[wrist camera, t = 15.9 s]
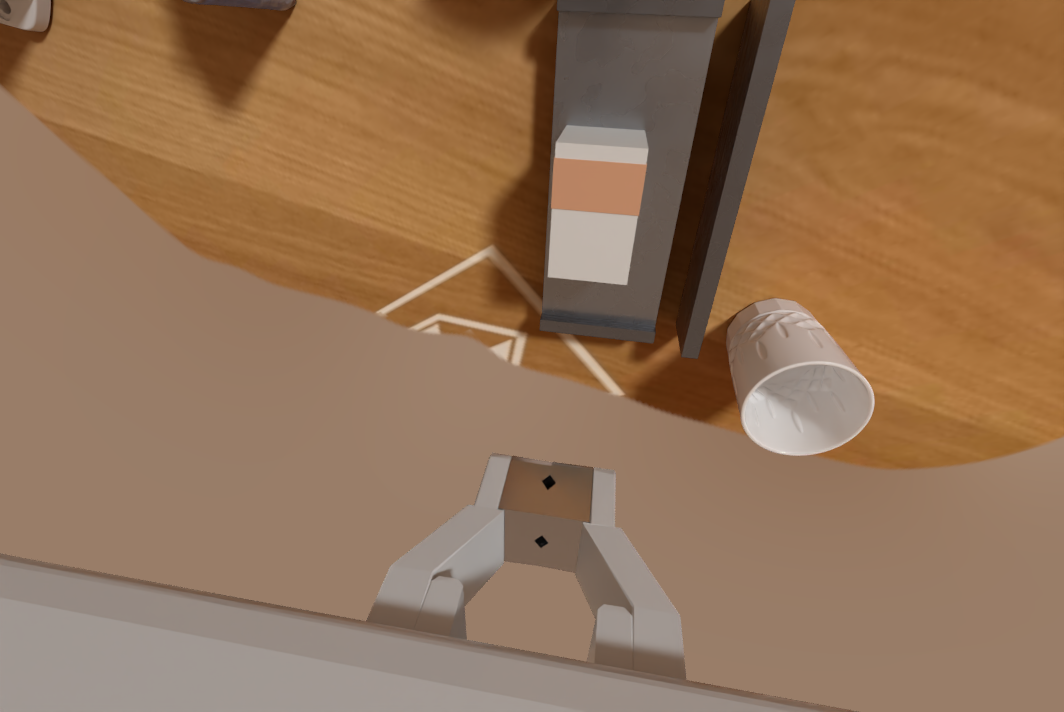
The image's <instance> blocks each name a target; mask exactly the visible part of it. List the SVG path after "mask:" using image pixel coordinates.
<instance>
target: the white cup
mask: <svg viewBox="0 0 1064 712" xmlns="http://www.w3.org/2000/svg"><path fill="white" fill-rule="evenodd" d="M726 347H727V352H728V356H729V366H730V371H731V376H732V382H733V387H734V391H735V395H736V400H737V404H738V409H739V413H740V418H741V422H742V426H743V428H744V430H745V432H746V434H747V435H748V436H749V438H750V439H751V440H752V441H753V442H755V443H756V444H757V445H759V446H761V447H762V448H764V449H766V450H769V451H771V452H775V453H778V454H784V455H792V456H793V455H794V456H803V455H812V454H818V453H822V452H826V451H829V450H832V449H834V448H837V447H839V446H841V445H843V444H844V443H846V442H848V441H849V440H851V439H852V438H854V437H855V436H856V435H857V434H858V433H859V432H860V431H861V430H862V429H863V428H864V427H865V426H866V424H867V423H868V421H869V420H870V418H871V415H872V413H873V409H874V394H873V390H872V388H871V386H870V384H869V383H868V381H867V380H866V379H865V377H864V376H863V375H862V374H861V373H860V371H859V370H858V369H857V368H856V366H855V365H854V364H853V363H852V361H851V360H850V359H849V357H848V356H847V355H846V354H845V352H844V351H843V350H842V349H841V347H840V346H839V345H838V344H837V342H836V341H835V340H834V339H833V338H832V337H831V336H830V335H829V333H828V332H827V331H826V330H825V328H824V327H823V326H822V325H821V324H820V323H819V322H817V320H816V319H815V318H814V317H813V315H812V314H811V313H810V311H808V310H807V309H805V308H804V307H802V306H801V305H800V304H798V303H797V302H795V301H791V300H784V299H778V298H773V299H768V300H764V301H760V302H755V303H753V304H752V305H750V306H748V307H747V308H745V309H744V310H742V311H741V312H739V313H738V314H737V315H736V317H735V318H734V320H733V321H732V323H731V324H730V326H729V327H728V329H727V338H726Z"/></svg>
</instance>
